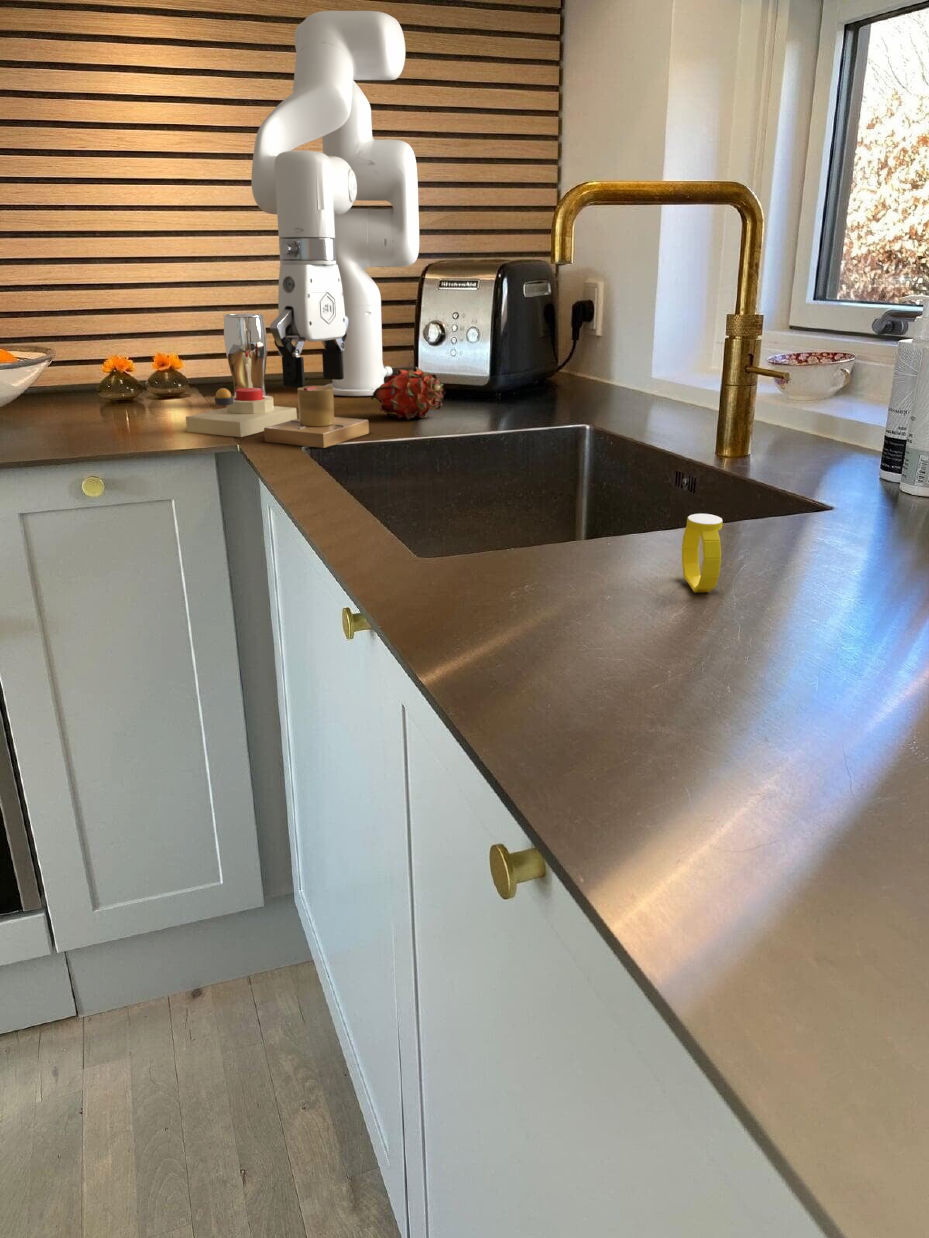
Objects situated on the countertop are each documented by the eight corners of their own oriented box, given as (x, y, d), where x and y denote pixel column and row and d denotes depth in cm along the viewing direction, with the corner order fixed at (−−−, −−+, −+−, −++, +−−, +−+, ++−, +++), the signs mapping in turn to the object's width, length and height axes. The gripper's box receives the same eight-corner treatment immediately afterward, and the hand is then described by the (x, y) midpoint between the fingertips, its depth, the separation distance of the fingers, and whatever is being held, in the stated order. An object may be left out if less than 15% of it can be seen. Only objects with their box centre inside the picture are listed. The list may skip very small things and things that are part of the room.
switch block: (246, 417, 152) (244, 392, 150) (297, 422, 148) (295, 396, 146) (187, 431, 140) (184, 404, 139) (240, 437, 136) (238, 409, 135)
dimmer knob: (312, 419, 139) (310, 382, 137) (341, 422, 137) (339, 384, 135) (292, 424, 134) (290, 387, 133) (322, 427, 132) (320, 389, 130)
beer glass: (276, 403, 165) (270, 313, 159) (264, 409, 158) (257, 316, 153) (237, 402, 165) (230, 313, 160) (224, 409, 159) (216, 316, 153)
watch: (670, 575, 81) (677, 508, 78) (702, 574, 81) (709, 507, 79) (691, 600, 75) (698, 528, 73) (725, 599, 75) (733, 527, 73)
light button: (247, 398, 147) (246, 387, 146) (268, 400, 145) (267, 388, 145) (231, 402, 144) (230, 390, 143) (252, 404, 142) (251, 392, 141)
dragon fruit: (451, 428, 152) (378, 439, 152) (444, 390, 156) (373, 402, 156) (447, 390, 145) (370, 402, 144) (439, 351, 149) (365, 363, 149)
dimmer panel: (312, 427, 143) (312, 413, 143) (369, 433, 139) (368, 418, 139) (264, 441, 133) (263, 426, 133) (323, 448, 129) (323, 432, 129)
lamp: (223, 402, 141) (221, 386, 140) (236, 403, 140) (235, 387, 139) (211, 404, 139) (210, 388, 138) (225, 406, 138) (224, 390, 137)
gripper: (292, 253, 118) (301, 391, 124) (365, 253, 133) (369, 378, 139) (244, 253, 121) (255, 388, 127) (320, 253, 136) (326, 375, 142)
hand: (314, 382), depth 133 cm, fingers open, 9 cm apart
